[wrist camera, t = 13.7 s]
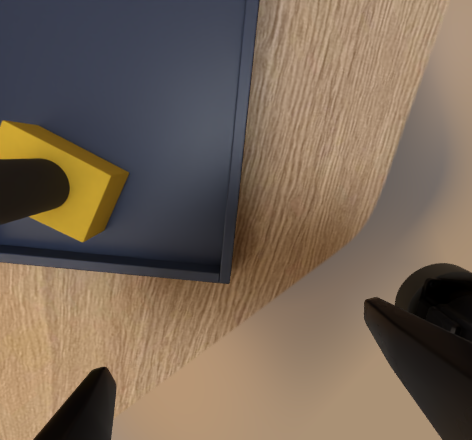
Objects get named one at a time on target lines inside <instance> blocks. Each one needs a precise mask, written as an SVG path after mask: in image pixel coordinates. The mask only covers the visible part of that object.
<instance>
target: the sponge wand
mask: <svg viewBox="0 0 472 440" xmlns="http://www.w3.org/2000/svg"><path fill="white" fill-rule="evenodd" d="M128 175H129V172H127V171H125V170H123V169H121V168H119V167H117V166H116V165H114V164H112V163H110V162H108V161H106V160H104V159H102V158H100V157H98V156H96V155H94V154H92V153H90V152H89V151H87V150H85V149H83V148H81V147H79V146H77V145H75V144H73V143H71V142H69V141H67V140H65V139H63V138H62V137H60V136H58V135H56V134H54V133H52V132H50V131H48V130H46V129H44V128H42V127H40V126H38V125H33V124H26V123H19V122H12V121H6V120H3V121H2V123H1V126H0V225H2V224H5V223H9V222H12V221H15V220H19V219H22V218H25V217H30V218H32V219H34V220H37V221H39V222H41V223H43V224H45V225H47V226H49V227H51V228H53V229H55V230H57V231H59V232H62V233H64V234H66V235H68V236H70V237H72V238H74V239H76V240H78V241H80V242H85V241H87V240H88V239H90V238H92V237H94V236H95V235H97V234H99V233H101V232H102V231H104V230H105V227H106V225H107V223H108V220H109V218H110V216H111V214H112V211H113V209H114V207H115V204H116V202H117V200H118V198H119V195H120V193H121V191H122V189H123V186H124V184H125V182H126V179H127V177H128Z"/></svg>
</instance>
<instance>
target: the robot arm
mask: <svg viewBox="0 0 472 440" xmlns="http://www.w3.org/2000/svg"><path fill="white" fill-rule="evenodd" d="M431 282H433V283H432V284H431V285H430V283H431ZM364 319H365V322H366V324H367V326H368V328H369V330H370V331H371V333H372V335H373V336H374V338H375V340H376V342H377V344H378V345H379V347H380V349H381V351H382V352H383V354H384V356H385V357H386V359H387V361H388V363H389V364H390V366H391V367H392V369H393V370H394V372H395V373H396V375H397V376H398V378H399V379H400V380H401V382H402V383H403V385H404V386H405V387H406V389H407V390H408V392H409V393H410V395H411V396H412V397H413V399H414V400H415V401H416V403H417V404H418V406H419V407H420V409H421V410H422V411H423V413H424V414H425V415H426V417H427V419H428V420H429V421H430V423H431V424H432V425H433V427H434V428H435V430H436V431H437V433H438V434H439V435H440V437H441V438H442V440H472V281H466V280H455V279H445V278H435V277H429V278H427V279H426V280H425V281H424V285H423V288H422V292H421V295H420V299H419V302H418V306H417V309H416V313H415V315H413V314H411V313H409V312H407V311H405V310H403V309H401V308H399V307H397V306H395V305H392V304H390V303H388V302H386V301H384V300H382V299H380V298H377V297H374V298H370V299H366V300H365V302H364ZM115 398H116V383H115V380H114V379H113V377H112V375H111V373H110V371H109V370H108V368H107V367H100V368H96V369H94V370H92V371H91V372H90V373H89V374H88V375H87V377H86V378H85V379H84V380H83V381H82V383H81V384H80V385H79V386H78V387H77V388H76V390H75V391H74V392H73V393H72V394H71V396H70V397H69V398H68V399H67V400H66V402H65V403H64V404H63V405H62V406H61V407H60V409H59V410H58V411H57V412H56V413H55V415H54V416H53V417H52V418H51V419H50V420H49V422H48V423H47V424H46V425H45V426H44V428H43V429H42V430H41V431H40V432H39V433H38V435H37V436H36V437H35V438H34V439H33V440H111V435H112V426H113V416H114V407H115Z"/></svg>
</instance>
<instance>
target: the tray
mask: <svg viewBox="0 0 472 440" xmlns="http://www.w3.org/2000/svg"><path fill="white" fill-rule="evenodd" d="M258 8H259V0H0V126H1V123H2V121H3V120H6V121H12V122H19V123H26V124H33V125H38V126H40V127H42V128H44V129H46V130H48V131H50V132H52V133H54V134H56V135H58V136H60V137H62V138H63V139H65V140H67V141H69V142H71V143H73V144H75V145H77V146H79V147H81V148H83V149H85V150H87V151H89V152H90V153H92V154H94V155H96V156H98V157H100V158H102V159H104V160H106V161H108V162H110V163H112V164H114V165H116V166H117V167H119V168H121V169H123V170H125V171H127V172H129V175H128V177H127V179H126V182H125V184H124V186H123V189H122V191H121V193H120V195H119V198H118V200H117V202H116V204H115V207H114V209H113V211H112V214H111V216H110V218H109V220H108V223H107V225H106V227H105V230H104V231H102V232H101V233H99V234H97V235H95V236H94V237H92V238H90V239H88V240H87V241H85V242H80V241H78V240H76V239H74V238H72V237H70V236H68V235H66V234H64V233H62V232H59V231H57V230H55V229H53V228H51V227H49V226H47V225H45V224H43V223H41V222H39V221H37V220H34V219H32V218H30V217H25V218H22V219H19V220H15V221H12V222H9V223H5V224H2V225H0V262H3V263H13V264H24V265H34V266H45V267H55V268H66V269H76V270H87V271H97V272H108V273H118V274H129V275H139V276H150V277H161V278H171V279H182V280H192V281H203V282H213V283H223V284H229V283H230V276H231V266H232V257H233V247H234V238H235V228H236V218H237V209H238V199H239V190H240V180H241V171H242V161H243V152H244V142H245V132H246V123H247V113H248V104H249V94H250V85H251V75H252V66H253V56H254V46H255V37H256V27H257V18H258Z"/></svg>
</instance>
